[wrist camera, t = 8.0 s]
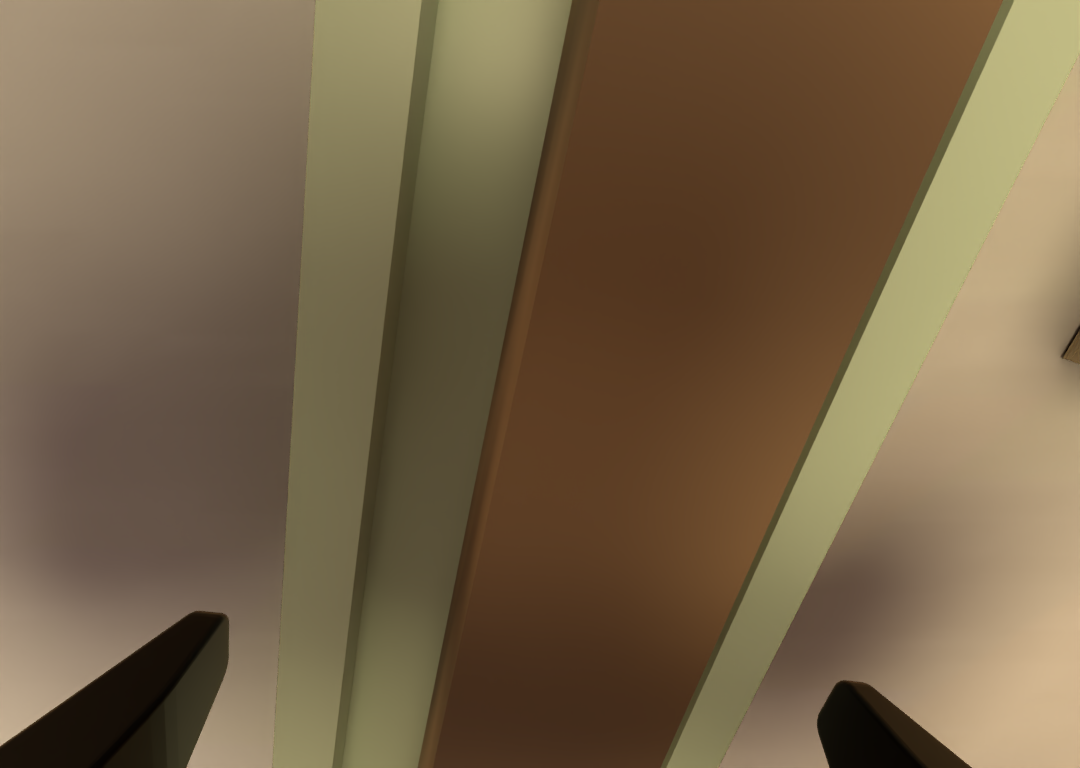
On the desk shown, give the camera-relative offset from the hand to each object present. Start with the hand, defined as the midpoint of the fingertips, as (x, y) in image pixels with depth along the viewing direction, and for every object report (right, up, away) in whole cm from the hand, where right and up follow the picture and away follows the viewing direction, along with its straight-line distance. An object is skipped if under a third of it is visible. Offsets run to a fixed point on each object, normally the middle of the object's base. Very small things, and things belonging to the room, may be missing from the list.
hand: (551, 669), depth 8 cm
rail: (0, +1, +2) cm, 2 cm away
